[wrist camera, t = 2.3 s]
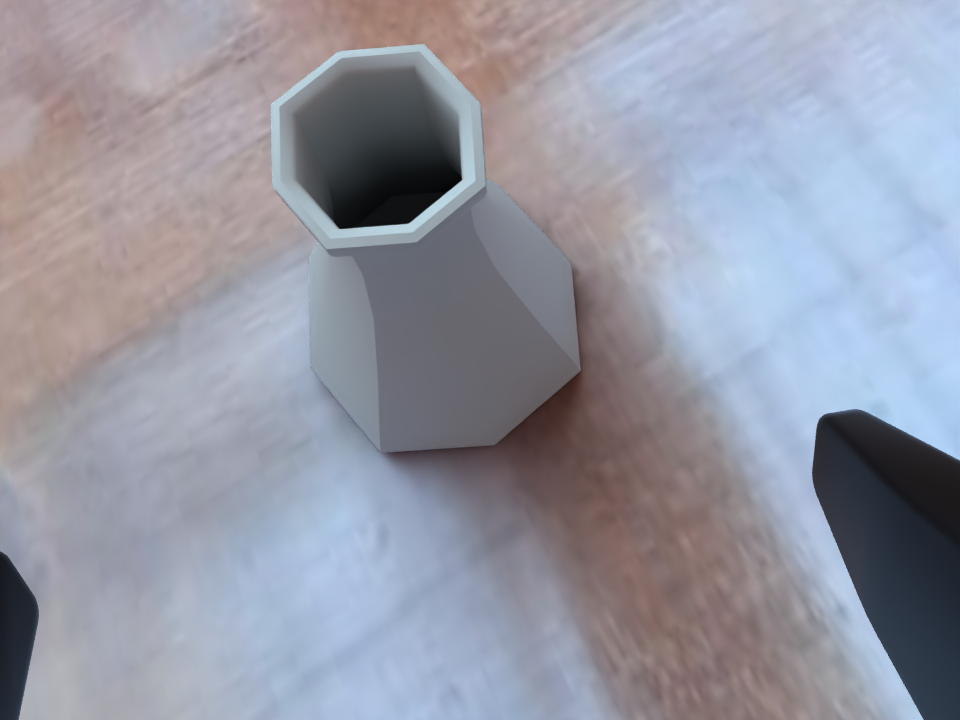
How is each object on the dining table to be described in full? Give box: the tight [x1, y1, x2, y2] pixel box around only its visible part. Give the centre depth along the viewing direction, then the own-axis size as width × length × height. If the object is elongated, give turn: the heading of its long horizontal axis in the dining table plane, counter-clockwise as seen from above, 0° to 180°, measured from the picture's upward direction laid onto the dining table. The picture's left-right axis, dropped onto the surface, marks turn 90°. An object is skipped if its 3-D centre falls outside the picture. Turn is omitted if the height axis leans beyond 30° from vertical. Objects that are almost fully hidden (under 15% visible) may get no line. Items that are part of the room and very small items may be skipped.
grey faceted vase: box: [271, 44, 581, 453], centre depth 17 cm, size 7×7×10 cm
